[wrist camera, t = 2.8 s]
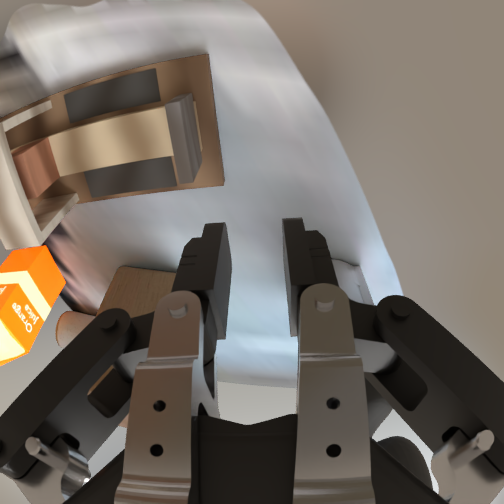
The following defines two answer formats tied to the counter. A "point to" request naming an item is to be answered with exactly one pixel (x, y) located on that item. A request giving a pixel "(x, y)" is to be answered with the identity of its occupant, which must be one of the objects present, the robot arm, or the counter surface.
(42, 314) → the orange juice
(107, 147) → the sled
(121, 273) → the wooden block
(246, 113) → the counter surface
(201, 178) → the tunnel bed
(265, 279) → the counter surface
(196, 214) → the counter surface
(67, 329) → the ceramic mug
